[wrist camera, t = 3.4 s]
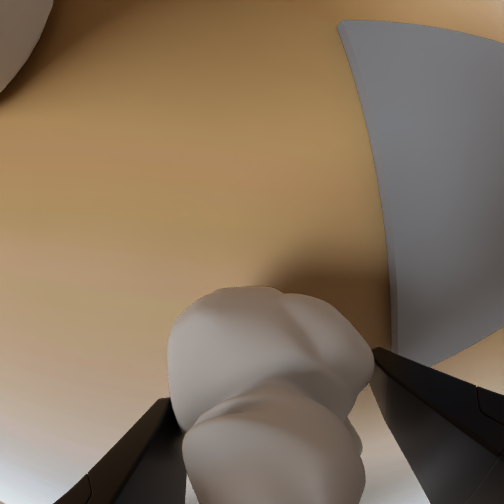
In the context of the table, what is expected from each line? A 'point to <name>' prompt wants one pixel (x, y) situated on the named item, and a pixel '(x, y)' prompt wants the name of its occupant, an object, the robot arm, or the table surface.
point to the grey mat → (436, 178)
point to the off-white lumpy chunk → (268, 398)
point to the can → (19, 33)
